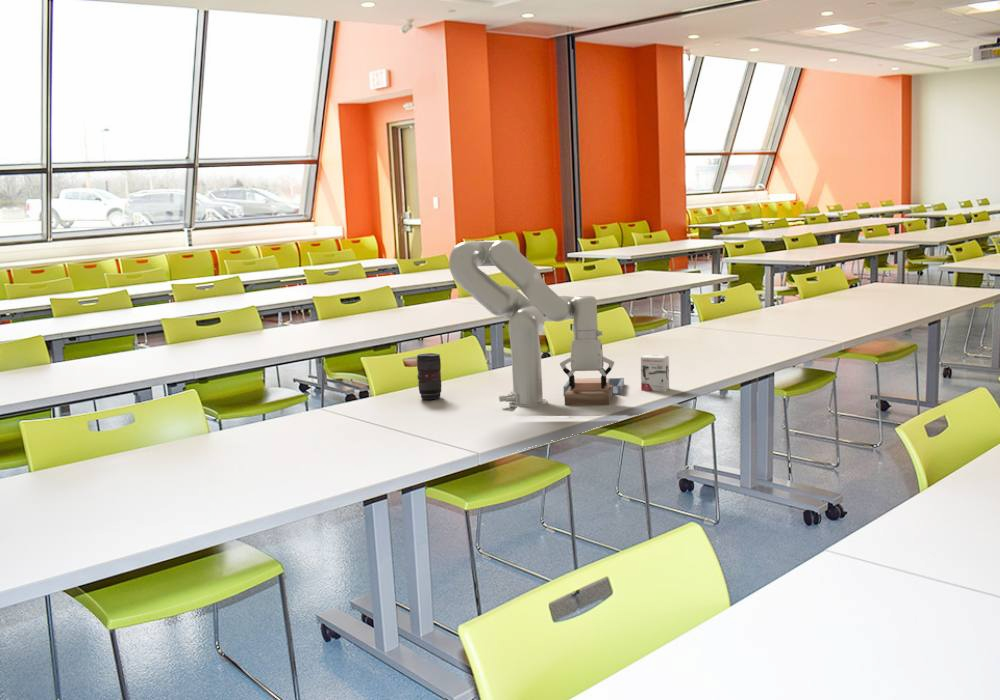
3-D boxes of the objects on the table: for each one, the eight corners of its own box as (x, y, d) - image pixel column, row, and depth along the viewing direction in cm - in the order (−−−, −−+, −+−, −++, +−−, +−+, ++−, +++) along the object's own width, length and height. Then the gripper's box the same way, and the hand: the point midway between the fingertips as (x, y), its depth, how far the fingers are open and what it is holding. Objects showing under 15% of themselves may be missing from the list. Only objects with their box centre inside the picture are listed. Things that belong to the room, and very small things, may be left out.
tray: (620, 394, 297) (620, 386, 296) (563, 395, 301) (563, 386, 300) (624, 386, 312) (623, 377, 312) (569, 387, 316) (569, 378, 316)
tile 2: (608, 388, 291) (608, 380, 290) (571, 388, 293) (571, 381, 293) (609, 386, 295) (609, 378, 294) (573, 386, 297) (573, 378, 297)
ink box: (640, 391, 302) (639, 356, 300) (645, 388, 306) (644, 354, 304) (665, 392, 297) (664, 357, 296) (669, 389, 302) (669, 355, 300)
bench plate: (609, 404, 282) (608, 393, 281) (564, 405, 285) (564, 394, 284) (613, 395, 297) (612, 384, 297) (571, 395, 300) (570, 385, 300)
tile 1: (607, 390, 287) (607, 382, 286) (570, 390, 290) (570, 383, 289) (608, 388, 291) (608, 380, 290) (572, 388, 293) (571, 381, 293)
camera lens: (439, 399, 305) (436, 355, 303) (416, 399, 307) (413, 356, 305) (445, 395, 313) (442, 352, 311) (423, 395, 314) (420, 353, 312)
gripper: (614, 333, 286) (616, 385, 288) (560, 334, 290) (563, 386, 292) (612, 335, 279) (613, 390, 281) (557, 337, 283) (559, 390, 285)
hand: (588, 388), depth 287 cm, fingers open, 9 cm apart
